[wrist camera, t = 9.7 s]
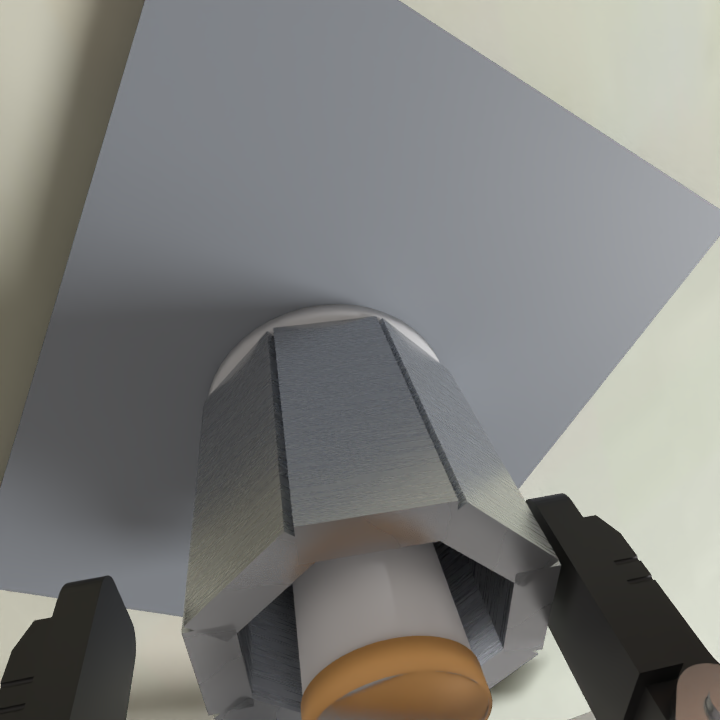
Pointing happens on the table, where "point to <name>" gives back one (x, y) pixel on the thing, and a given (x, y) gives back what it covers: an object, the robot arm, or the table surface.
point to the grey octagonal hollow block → (347, 506)
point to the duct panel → (326, 300)
